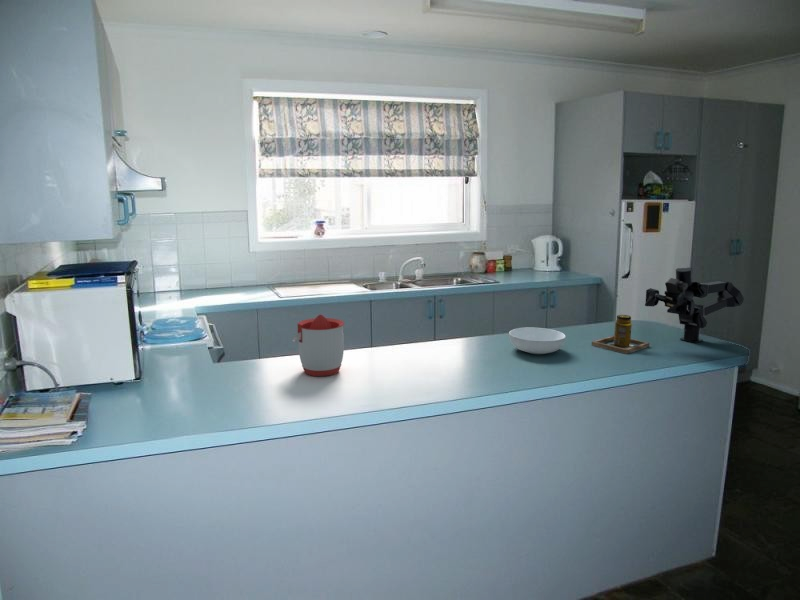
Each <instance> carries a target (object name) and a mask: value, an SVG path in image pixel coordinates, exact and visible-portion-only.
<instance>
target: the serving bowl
mask: <svg viewBox="0 0 800 600" xmlns="http://www.w3.org/2000/svg"><path fill="white" fill-rule="evenodd" d="M508 335H509V336H508V337H509V340H510V343H511V345H513V347H515V348H516V349H518V350H519V351H521V352H522V351H523V352H525V353H528V354H533V355H545V354H550V353H554V352H557V351H558V350H560V349H561V348H562V347H563V346H564V344H565V343H566V338H567V336H566V335H565V333H563V332H562V331H558V330H555V329H552V328H545V327H544V328H543V327H526V326H525V327H518V328H514V329H511V330H510V331H509V332H508Z"/></svg>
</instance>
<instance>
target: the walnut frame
mask: <svg viewBox="0 0 800 600" xmlns="http://www.w3.org/2000/svg"><path fill="white" fill-rule="evenodd" d="M608 342H614V335H611V336H608V337H607V336H606V337H603V338H600V339H597V340H592V341H591V346H594V347H598V348H600V349H605V350H609V351H612V352H613V351H614V352H617V353H620V354H625V355H627V354H630V353H634V352H637V351H641V350H643V349H647V348H649V347H650V342H647V341H643V340H639V339H635V338H631V339H630V344H631V345H634V346H632V347H630V348H627V349H623V348H619V347H615V346H611V345H609V344H606V343H608ZM646 347H647V348H646Z"/></svg>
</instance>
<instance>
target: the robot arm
mask: <svg viewBox="0 0 800 600" xmlns="http://www.w3.org/2000/svg"><path fill="white" fill-rule="evenodd" d="M665 289H666V290H664V295H663V294H660V291H659V290H658V289H656V288H648V289H646V291H645V304H644V306H645V307H652V308H653V307H655V306H657V305H658V304H659V302H663V303H664V307H667V308H668V309H667V310H666V313H669V314H674V315H675V314H676V315H678V321H679V324H680V325H684V330H683V337H681V338H679V341H680V340H681V341H684V342H688V343H689V342H690V343H695V344H696V343H699V342H702V341H703V338H700V334H701V329H705V327H707V324H708V320H707V319H706V318H705V317H707V316H709V315H711V314H713V313H716V312H717V311H718V312H719V311H720V310H723V309H725V308H736V307H740V306H741V305H742V304H743V303H744V296H743V294H742V292H741V290H739V289H738V288H737V287H736V286H734V284H733V282H731V281H728V280H723V279H722V280H721V279H720V280H718V281H709V282H703V283H701V282H698V281H693V267H680V268H679V267H678V268H676V269H675V278H673V277H669V279H668V280H667V281H666V282H665ZM715 293H716V295H717V297H716V298H713V299H712V300H709V301H706V302H704V303H701V304H697V303H695V300H694V298H697V299H703V298H705V297H707V296H708V294H715Z"/></svg>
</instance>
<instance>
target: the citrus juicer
mask: <svg viewBox="0 0 800 600" xmlns="http://www.w3.org/2000/svg"><path fill="white" fill-rule="evenodd" d="M344 325H345V322H344V321H343V320H341V319H337V318H331V317H330V318H329V317H325V316H324V315H323V314H321V313H320V314H318V315H317V316H316V317H315V318H307V319H304V320H301V321H299V322H298V323H297V333H296V334H294V335H293V336H292V342H294V343H295V342H298V355H299V359H300V363H301V367H302V370H303V371H304V373H305V374H306V375H309V376H312V377H325V376H326V377H327V376H333V375H336V374H337V373H338V372H340V369H341V367H342V362H343V358H344V351H345V349H344V347H345V345H344V344H345V343H344V342H345V341H344V340H345V339H344V338H345V337H344V336H345V335H344Z"/></svg>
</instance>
